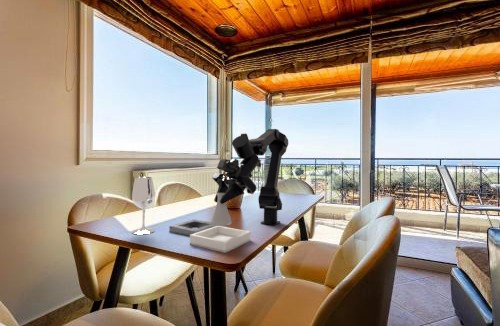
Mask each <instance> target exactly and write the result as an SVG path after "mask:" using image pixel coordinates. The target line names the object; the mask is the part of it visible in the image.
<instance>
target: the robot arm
mask: <svg viewBox="0 0 500 326" xmlns="http://www.w3.org/2000/svg"><path fill="white" fill-rule="evenodd" d="M287 137H288V136H287V135H286V134H284V133H282V132H281V131H280V130H279V129H277V128H269V129H266V131H264V132H263V133H262V134H261V135H259V136H258V137H256V138H250V139H249V136H248V134H247V133H240V135H238V136H237V137H235V138H234V139H232V141H231V145H232V147H233V149H234V151H235V154H236V155H237V157H238V158H239V159H240V160H239V159H237V158H231V160H230V159H226V158H220V159H219V161H218V164H217V167H216V169H218V170H221V171H223V172H225V173H218V172H217V173H216V172H215V173H214V174H213V176H212V180H213V181H214V182H215V183H216V184H217V185H218V188H217V192H216V194H215V197H214V199H213V200H214V202H215V203H217V200H218V196H217V193H225V194H224V195H223V197H222V199H221V200H220V203H221V204H223V203H225V202H226V203H227V202H229V201H232V200H233V199H235V198H237V197H240V196H242V195H244V194H245V192H244V191H245V189H247V190H246V193H247V194H251V195H254V193H256V191H257V185H256V184H255V182H254V180H252V179H251V178H252V176H253V174H252V173H253V171H255V169H256V167H258V168H261V167H262V163H261V161H262V159H260V158H259V156H260V157H261V156H264V155H265V154H266V153H267V151H268V150H269V152H270V159H269V164H268V171H267V177H266V183H265V184H264V186H261V187H260V192H259V195H258V199H257V201H258V206H259V209H261V210H263V221H261V222H260V224H261V225H262V224H263V225H269V226H276V225H278V224H280V223H281V221H278V211H281V210H283V203H282V199H281V197H280V194H281V193H280V191H279V189H278V183H279V176H280V175H279V174H280V168H281V162H282V156H283V155H285V154H286V152H287V150H288V146H289V139H288V138H287Z"/></svg>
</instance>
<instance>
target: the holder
mask: <svg viewBox="0 0 500 326" xmlns="http://www.w3.org/2000/svg"><path fill="white" fill-rule="evenodd" d="M210 223H211V221H206V220H205V221H204V220H199V219H192V220H190V219H189V220H186V221H184V222H180V223H175V224H173V225H169V226H168V228H169V231H168V232H170V233H175V234H180V235H184V236H186V237H187V236H189V237H190V235H191V234H194V233H197V232H200V231H203V230H206V229H209V228H212V227H215V225H210ZM193 227H197V228H193Z"/></svg>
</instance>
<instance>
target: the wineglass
mask: <svg viewBox="0 0 500 326" xmlns="http://www.w3.org/2000/svg"><path fill="white" fill-rule="evenodd" d="M155 198H156V191H155V186H154V181H153V177H151V176H137V177H135V179H134V184H133V188H132V193H131V199H132V203H133V204H134V206H136V207H138V208H139V209H141V213H142V222H141V223H142V225H141V228H137V229H134V230H132V232H131V233H132V234H133V235H148V234H149V235H150V234H152V233H154V232H155V229H153V228H151V227H150V228H149V227H146V225H145V213H146V209H147V208H150V206H152V205H153V204H154V201H155Z"/></svg>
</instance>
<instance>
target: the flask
mask: <svg viewBox="0 0 500 326" xmlns="http://www.w3.org/2000/svg"><path fill="white" fill-rule="evenodd" d="M216 194H217V196H218V200H217V202H216V206H215V209H214V212H213V215H212V218H211V219H210V222H211V223H210V225H215V226H222V227H228V226H229V225H232V224H233V222H232V220H231V216H230V213H229V209H228V206H227V202H225V203H223V204H221V203H220V200H221V199H222V197H223V195H224V194H225V193H217V192H216Z"/></svg>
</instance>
